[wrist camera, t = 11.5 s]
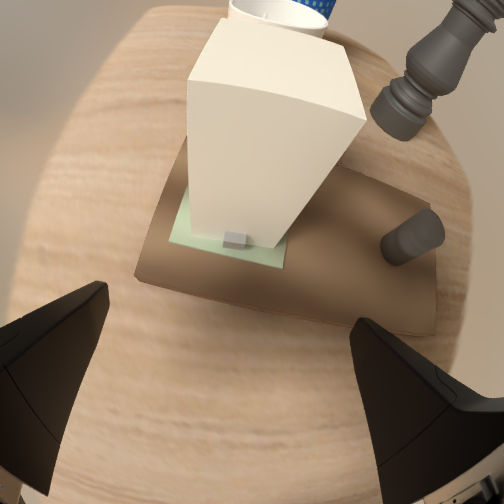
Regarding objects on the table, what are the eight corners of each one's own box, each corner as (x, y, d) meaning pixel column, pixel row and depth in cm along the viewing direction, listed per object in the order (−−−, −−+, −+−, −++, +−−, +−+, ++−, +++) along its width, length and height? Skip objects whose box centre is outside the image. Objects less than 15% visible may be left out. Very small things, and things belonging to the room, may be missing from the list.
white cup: (246, 129, 22) (272, 29, 13) (201, 83, 23) (210, -4, 14) (310, 108, 24) (347, 29, 15) (264, 67, 26) (285, -6, 16)
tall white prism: (272, 257, 17) (370, 134, 6) (189, 245, 16) (181, 92, 6) (278, 174, 19) (341, 40, 8) (207, 161, 18) (224, 13, 8)
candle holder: (415, 128, 28) (519, 1, 4) (405, 149, 25) (532, 0, 2) (378, 97, 28) (468, -40, 5) (363, 114, 26) (470, -52, 3)
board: (422, 336, 19) (477, 327, 13) (139, 281, 16) (110, 250, 11) (420, 210, 23) (460, 180, 17) (191, 138, 21) (192, 81, 15)
